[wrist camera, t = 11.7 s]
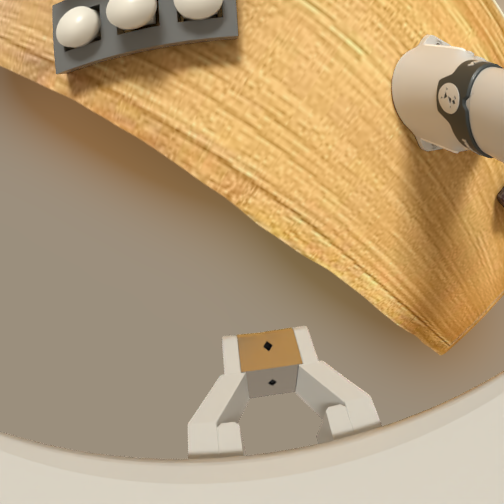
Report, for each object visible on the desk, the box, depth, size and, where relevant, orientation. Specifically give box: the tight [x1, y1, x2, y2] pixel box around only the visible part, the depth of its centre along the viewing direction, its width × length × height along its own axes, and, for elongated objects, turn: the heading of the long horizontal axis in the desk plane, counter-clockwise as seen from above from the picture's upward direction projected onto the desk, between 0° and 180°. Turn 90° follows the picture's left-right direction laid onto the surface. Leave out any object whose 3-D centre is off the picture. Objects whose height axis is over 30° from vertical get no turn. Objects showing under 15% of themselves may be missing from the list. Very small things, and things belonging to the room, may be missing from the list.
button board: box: [53, 0, 238, 74], centre depth 24 cm, size 22×10×3 cm, turn 93°
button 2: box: [174, 0, 223, 21], centre depth 24 cm, size 5×5×4 cm
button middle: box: [106, 0, 157, 31], centre depth 22 cm, size 5×5×4 cm
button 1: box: [56, 6, 101, 48], centre depth 23 cm, size 5×5×4 cm
